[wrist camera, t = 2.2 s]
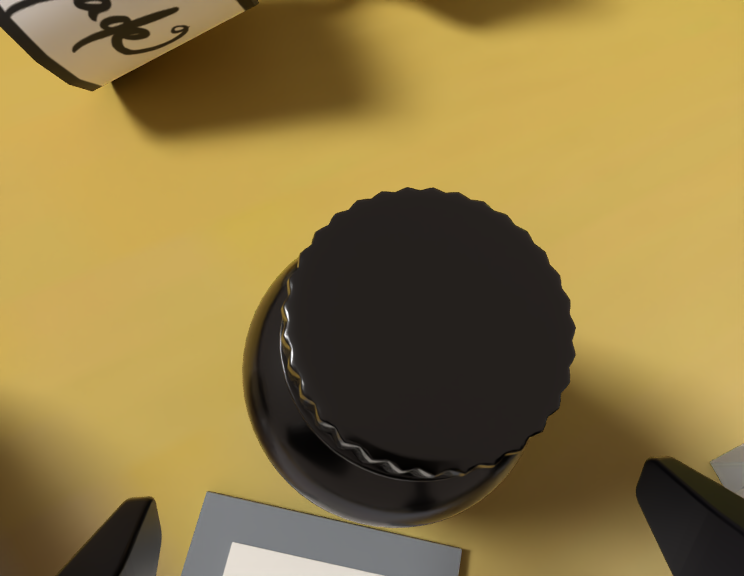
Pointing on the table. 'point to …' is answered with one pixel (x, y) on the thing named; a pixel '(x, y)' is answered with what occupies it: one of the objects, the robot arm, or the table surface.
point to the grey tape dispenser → (108, 32)
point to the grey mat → (303, 545)
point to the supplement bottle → (407, 358)
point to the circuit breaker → (731, 470)
